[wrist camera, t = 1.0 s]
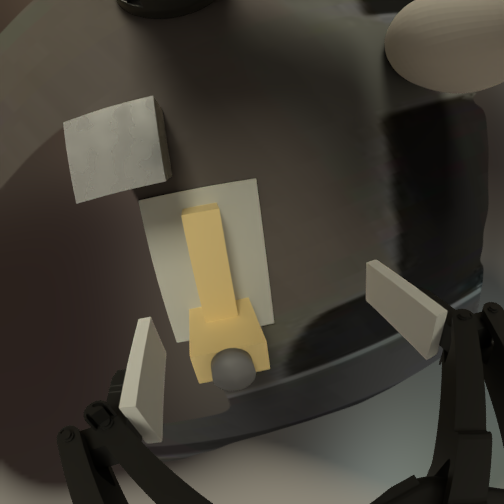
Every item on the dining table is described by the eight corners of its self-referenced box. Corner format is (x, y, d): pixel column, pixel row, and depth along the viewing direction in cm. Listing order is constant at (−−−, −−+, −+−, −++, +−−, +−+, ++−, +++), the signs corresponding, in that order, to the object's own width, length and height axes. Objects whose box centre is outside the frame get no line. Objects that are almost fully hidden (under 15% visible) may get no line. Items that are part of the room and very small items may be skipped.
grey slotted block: (90, 128, 28) (63, 122, 20) (162, 109, 29) (153, 95, 21) (101, 192, 30) (76, 203, 23) (172, 175, 32) (165, 181, 24)
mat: (138, 200, 32) (138, 200, 31) (255, 178, 33) (256, 178, 33) (177, 341, 38) (177, 342, 38) (273, 321, 40) (274, 323, 40)
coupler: (166, 212, 32) (151, 241, 21) (233, 199, 33) (253, 222, 22) (196, 334, 38) (200, 397, 27) (252, 323, 39) (275, 381, 28)
